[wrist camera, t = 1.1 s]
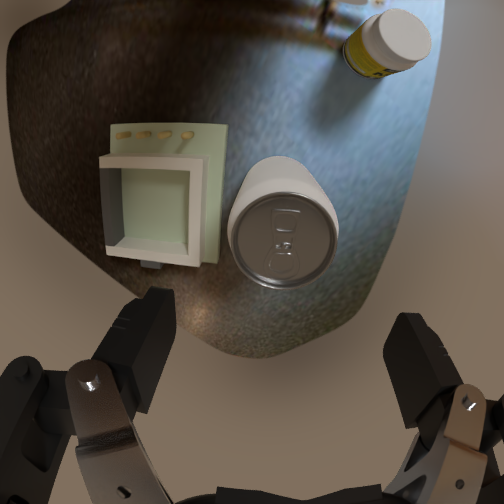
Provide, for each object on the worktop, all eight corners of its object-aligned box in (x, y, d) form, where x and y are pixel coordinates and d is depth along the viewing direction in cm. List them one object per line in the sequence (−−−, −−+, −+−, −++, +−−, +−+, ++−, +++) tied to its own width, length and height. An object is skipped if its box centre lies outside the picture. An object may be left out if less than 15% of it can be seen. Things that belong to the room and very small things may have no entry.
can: (242, 221, 27) (222, 293, 17) (243, 153, 25) (221, 180, 14) (310, 225, 27) (334, 299, 16) (317, 157, 24) (353, 189, 13)
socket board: (116, 124, 24) (97, 126, 20) (228, 124, 23) (221, 125, 20) (121, 246, 29) (105, 261, 26) (219, 257, 29) (212, 276, 26)
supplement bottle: (362, 88, 21) (402, 77, 13) (331, 46, 20) (357, 16, 12) (400, 66, 20) (447, 52, 12) (370, 25, 18) (407, -5, 11)
